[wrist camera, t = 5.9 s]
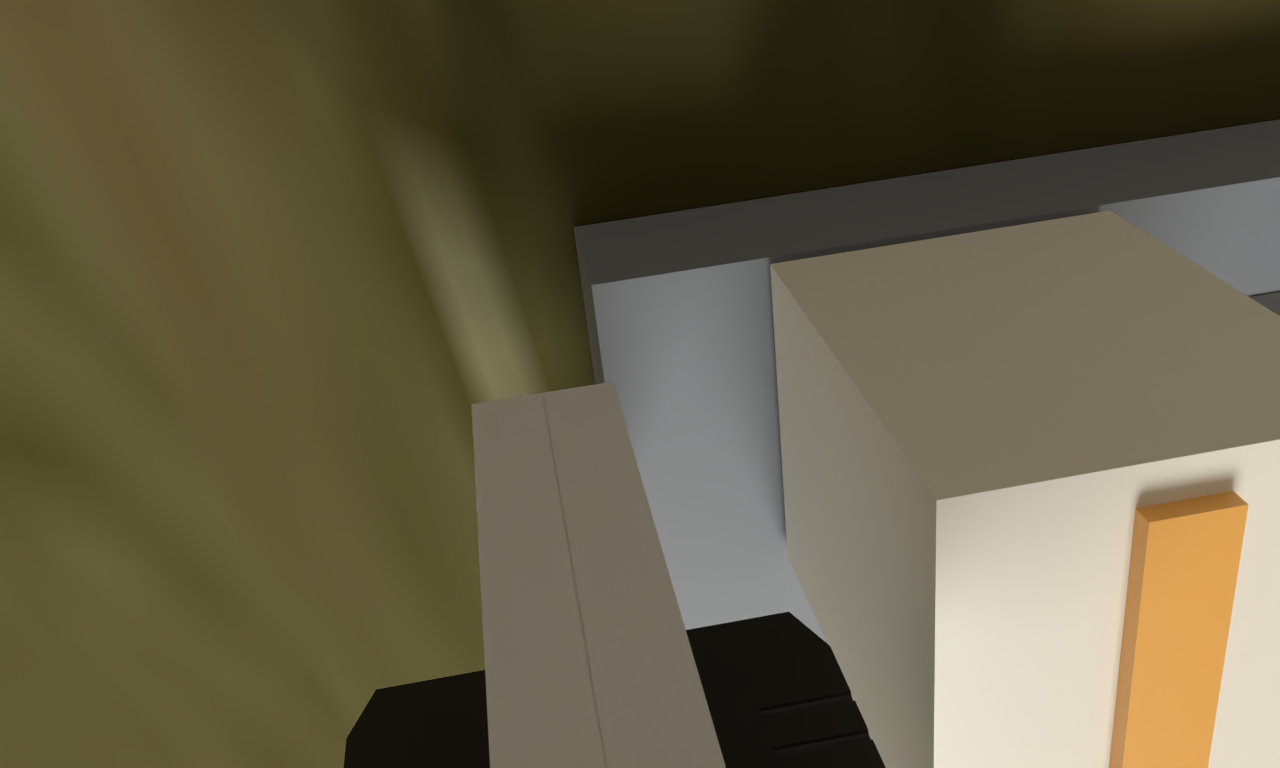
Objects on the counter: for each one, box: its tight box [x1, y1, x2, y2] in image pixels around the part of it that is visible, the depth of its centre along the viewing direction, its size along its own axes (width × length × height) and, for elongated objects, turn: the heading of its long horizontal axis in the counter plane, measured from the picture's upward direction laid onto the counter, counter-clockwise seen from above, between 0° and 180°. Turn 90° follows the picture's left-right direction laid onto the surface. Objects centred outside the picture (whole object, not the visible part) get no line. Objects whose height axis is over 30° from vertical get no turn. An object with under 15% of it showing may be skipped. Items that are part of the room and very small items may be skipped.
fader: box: [770, 211, 1280, 768], centre depth 12 cm, size 4×4×5 cm
